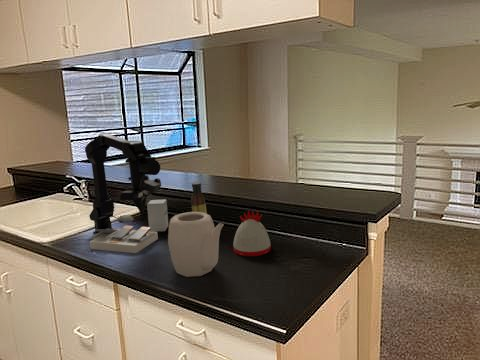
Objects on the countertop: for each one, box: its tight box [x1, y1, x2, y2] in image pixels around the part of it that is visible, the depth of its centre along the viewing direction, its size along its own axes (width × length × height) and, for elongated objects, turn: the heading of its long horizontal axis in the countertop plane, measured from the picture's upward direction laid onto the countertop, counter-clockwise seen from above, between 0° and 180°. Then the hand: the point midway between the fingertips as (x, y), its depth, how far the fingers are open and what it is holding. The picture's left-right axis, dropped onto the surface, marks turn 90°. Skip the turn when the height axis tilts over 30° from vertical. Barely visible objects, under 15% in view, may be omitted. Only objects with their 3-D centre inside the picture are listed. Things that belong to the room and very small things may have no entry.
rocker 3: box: [129, 226, 151, 241], centre depth 159 cm, size 4×9×2 cm, turn 161°
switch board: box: [89, 228, 159, 254], centre depth 163 cm, size 23×16×4 cm
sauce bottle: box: [190, 181, 208, 214], centre depth 179 cm, size 6×6×20 cm
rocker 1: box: [96, 229, 117, 234], centre depth 165 cm, size 4×9×2 cm, turn 161°
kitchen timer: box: [232, 210, 272, 257], centre depth 150 cm, size 14×14×15 cm
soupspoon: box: [118, 214, 134, 223], centre depth 201 cm, size 22×3×7 cm
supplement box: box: [146, 198, 169, 232], centre depth 179 cm, size 7×7×13 cm
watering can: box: [167, 211, 224, 278], centre depth 131 cm, size 16×27×19 cm, turn 47°
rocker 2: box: [112, 224, 135, 239], centre depth 162 cm, size 4×9×2 cm, turn 160°
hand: (142, 212), depth 161 cm, fingers closed
